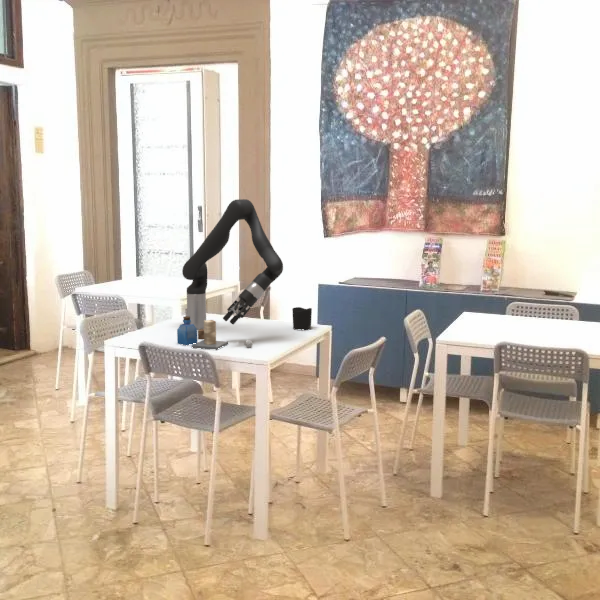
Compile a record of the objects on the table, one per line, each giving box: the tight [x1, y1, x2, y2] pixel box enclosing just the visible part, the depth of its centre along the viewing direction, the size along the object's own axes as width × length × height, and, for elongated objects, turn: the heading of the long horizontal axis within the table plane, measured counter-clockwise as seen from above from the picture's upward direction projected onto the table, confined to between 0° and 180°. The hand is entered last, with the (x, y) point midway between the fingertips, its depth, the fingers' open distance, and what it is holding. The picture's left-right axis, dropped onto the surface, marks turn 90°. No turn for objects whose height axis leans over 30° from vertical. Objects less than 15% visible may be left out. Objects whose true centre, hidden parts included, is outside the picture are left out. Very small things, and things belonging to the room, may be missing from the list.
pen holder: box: [291, 306, 313, 330], centre depth 359 cm, size 9×9×10 cm
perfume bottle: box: [176, 315, 198, 346], centre depth 326 cm, size 6×6×12 cm
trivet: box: [190, 339, 229, 350], centre depth 321 cm, size 12×12×1 cm
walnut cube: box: [197, 328, 204, 340], centre depth 337 cm, size 4×4×4 cm
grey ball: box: [244, 339, 253, 348], centre depth 318 cm, size 3×3×3 cm
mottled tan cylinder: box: [203, 319, 217, 345], centre depth 320 cm, size 4×4×10 cm
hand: (227, 321), depth 323 cm, fingers open, 8 cm apart
